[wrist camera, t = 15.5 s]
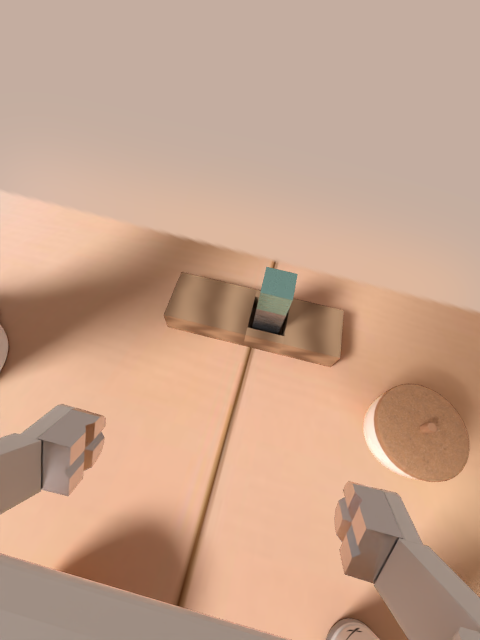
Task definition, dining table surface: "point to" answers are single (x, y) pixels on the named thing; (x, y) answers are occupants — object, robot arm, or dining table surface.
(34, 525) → the dining table surface
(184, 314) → the wooden peg hole block
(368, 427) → the lidded jar
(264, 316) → the teal square peg
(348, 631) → the travel mug
